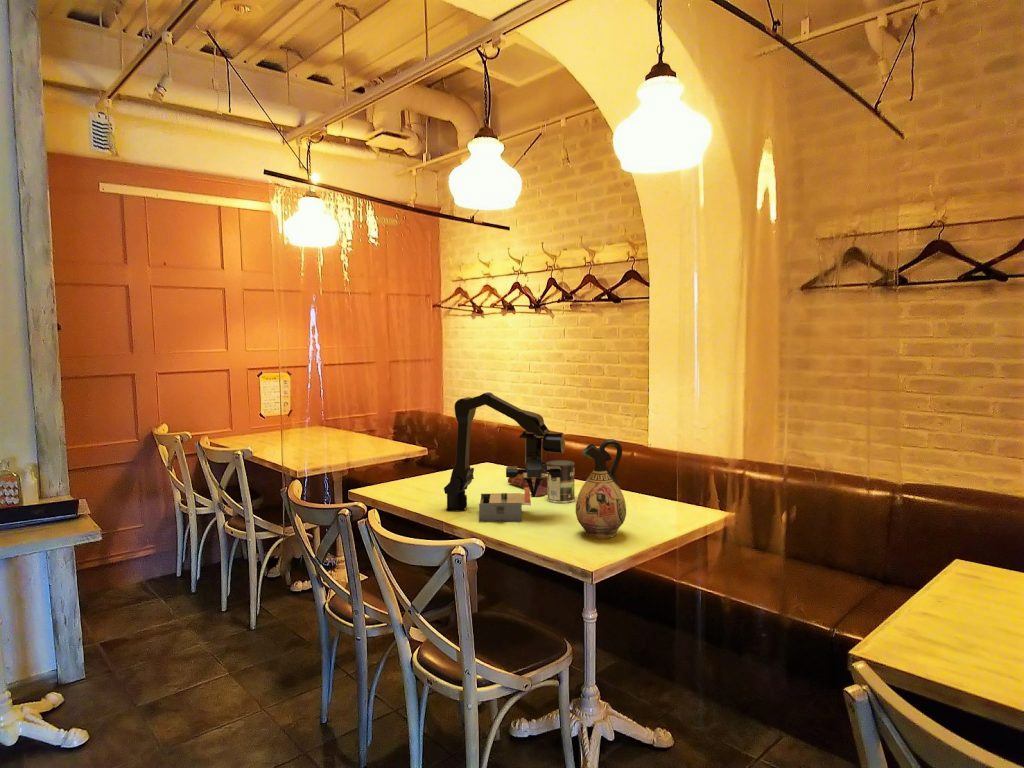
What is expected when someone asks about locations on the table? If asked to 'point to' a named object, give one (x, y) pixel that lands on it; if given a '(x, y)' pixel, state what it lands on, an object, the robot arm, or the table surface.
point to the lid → (511, 498)
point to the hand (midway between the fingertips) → (533, 496)
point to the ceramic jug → (601, 494)
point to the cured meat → (522, 483)
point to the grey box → (499, 510)
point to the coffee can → (561, 482)
